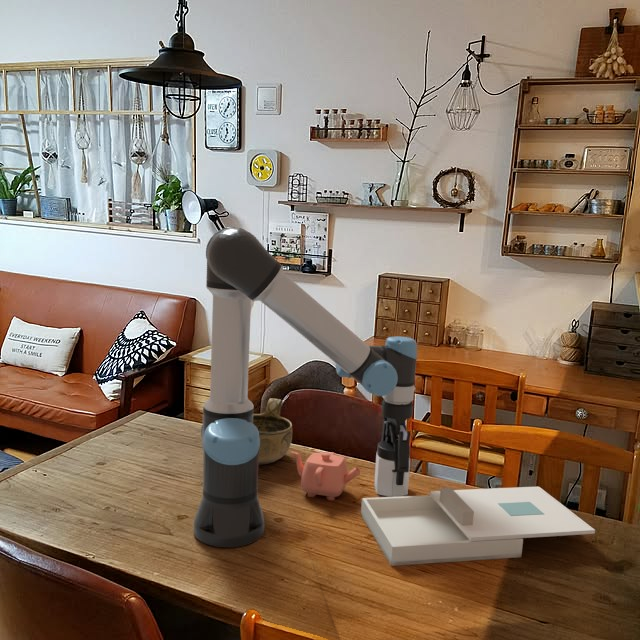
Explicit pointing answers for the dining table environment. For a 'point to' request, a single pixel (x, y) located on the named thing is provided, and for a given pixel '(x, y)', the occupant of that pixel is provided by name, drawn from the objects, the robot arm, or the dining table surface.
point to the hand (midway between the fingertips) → (391, 489)
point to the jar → (387, 470)
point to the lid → (508, 513)
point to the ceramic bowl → (273, 432)
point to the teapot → (324, 474)
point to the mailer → (426, 533)
